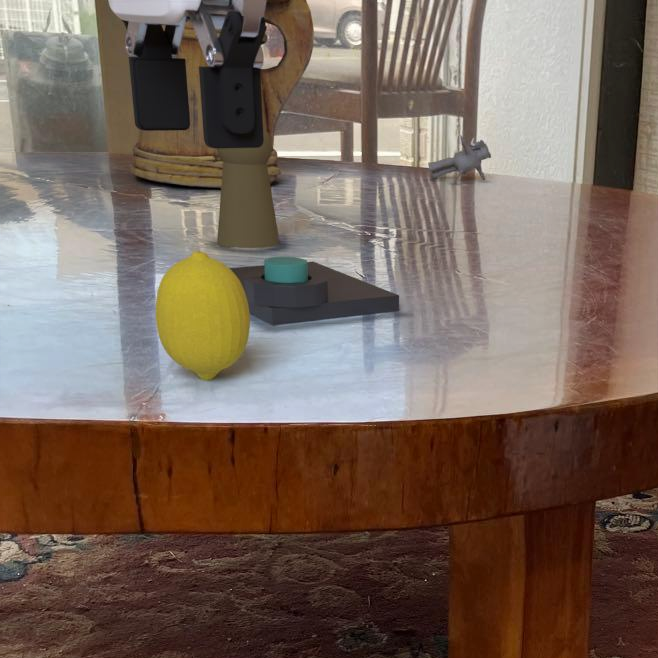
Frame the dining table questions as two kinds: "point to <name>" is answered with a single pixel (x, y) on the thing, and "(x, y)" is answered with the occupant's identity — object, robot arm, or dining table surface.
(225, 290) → the lemon
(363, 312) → the dark button base
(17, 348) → the dining table surface
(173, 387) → the dining table surface
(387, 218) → the dining table surface
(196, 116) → the tankard
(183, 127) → the robot arm
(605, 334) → the dining table surface
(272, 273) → the button
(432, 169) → the grey branched piece
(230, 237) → the cork
